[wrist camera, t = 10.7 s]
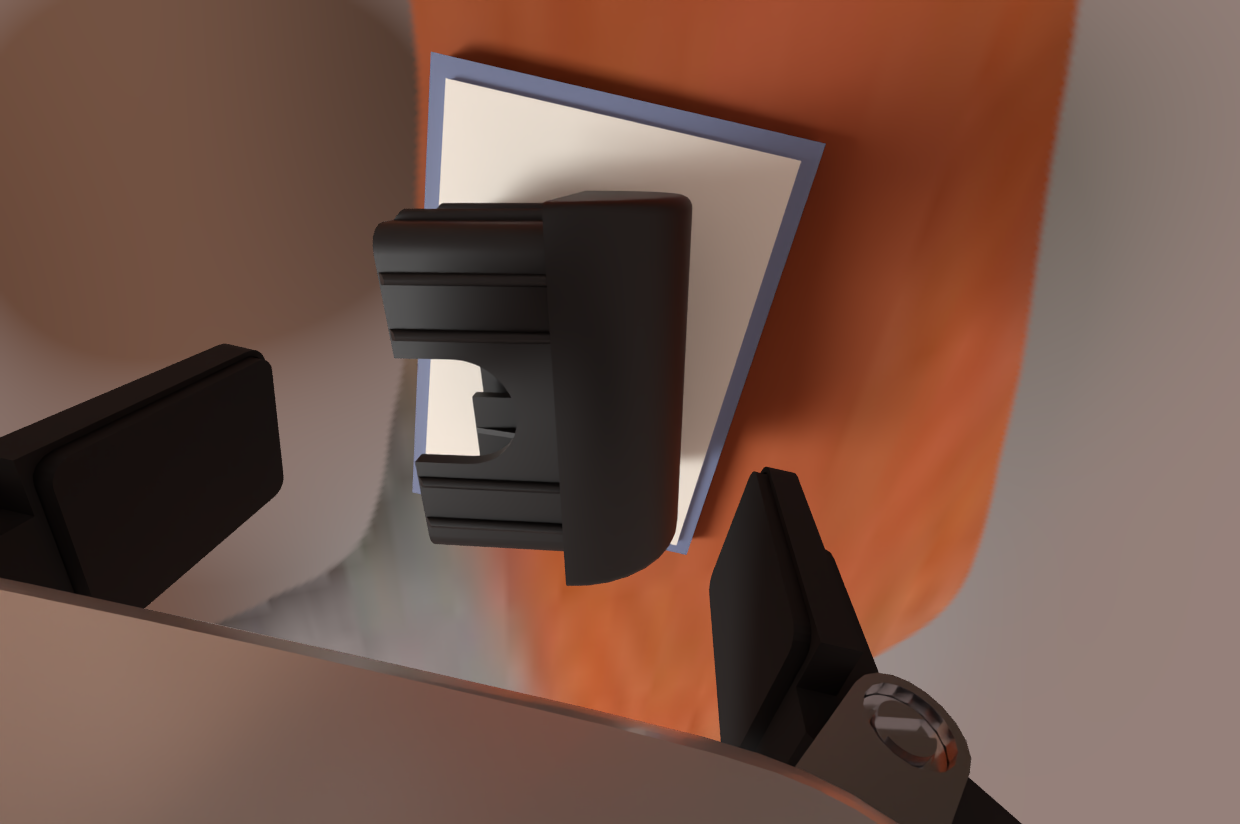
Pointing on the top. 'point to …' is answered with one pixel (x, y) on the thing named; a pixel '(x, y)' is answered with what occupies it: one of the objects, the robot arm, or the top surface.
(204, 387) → the robot arm
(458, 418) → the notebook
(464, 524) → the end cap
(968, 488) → the top surface
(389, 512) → the top surface
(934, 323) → the top surface
